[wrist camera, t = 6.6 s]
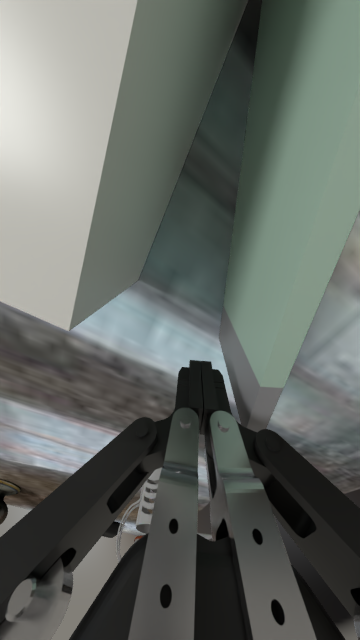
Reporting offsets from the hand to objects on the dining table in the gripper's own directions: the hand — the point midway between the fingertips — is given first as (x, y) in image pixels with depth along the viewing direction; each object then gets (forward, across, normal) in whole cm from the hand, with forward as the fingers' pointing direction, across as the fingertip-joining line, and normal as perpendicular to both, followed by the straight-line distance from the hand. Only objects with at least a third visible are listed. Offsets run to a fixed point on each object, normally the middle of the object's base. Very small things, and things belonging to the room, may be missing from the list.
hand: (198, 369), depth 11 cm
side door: (+7, -3, -10) cm, 12 cm away
